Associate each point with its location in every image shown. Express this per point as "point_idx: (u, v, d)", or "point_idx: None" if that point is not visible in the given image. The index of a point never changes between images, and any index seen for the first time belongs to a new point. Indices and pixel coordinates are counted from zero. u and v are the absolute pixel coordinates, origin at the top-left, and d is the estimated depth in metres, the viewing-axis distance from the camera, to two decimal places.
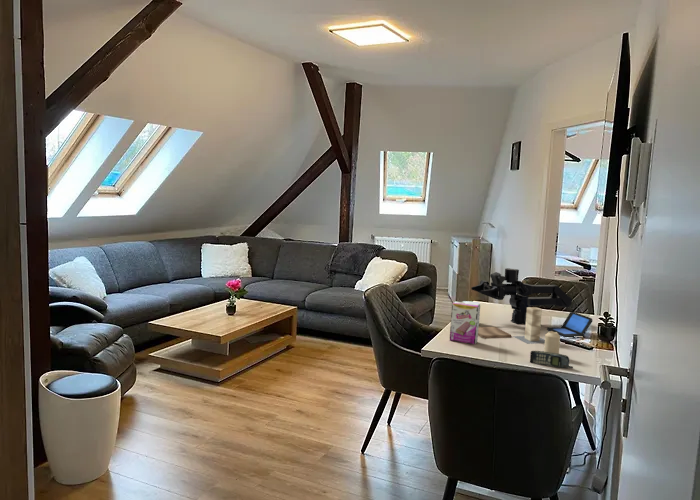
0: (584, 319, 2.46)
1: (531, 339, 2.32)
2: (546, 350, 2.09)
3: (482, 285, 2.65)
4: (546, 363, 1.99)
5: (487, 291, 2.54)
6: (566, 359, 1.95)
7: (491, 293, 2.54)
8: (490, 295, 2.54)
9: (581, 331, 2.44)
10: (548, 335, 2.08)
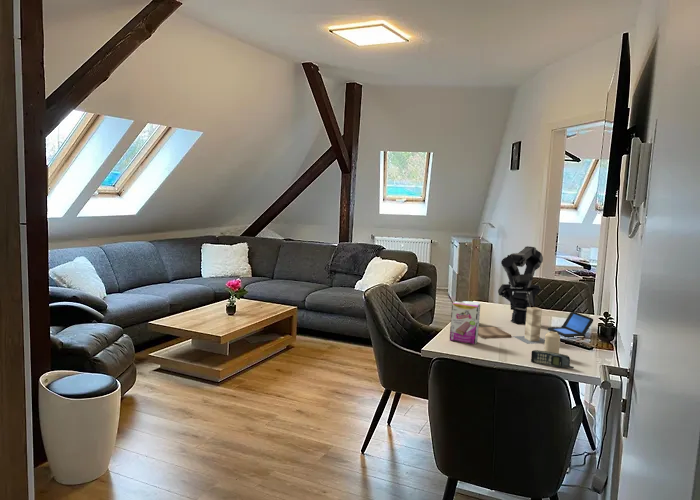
0: (585, 319, 2.46)
1: (531, 339, 2.32)
2: (546, 350, 2.09)
3: None
4: (547, 363, 1.99)
5: None
6: (567, 359, 1.95)
7: None
8: None
9: (582, 331, 2.44)
10: (548, 335, 2.08)
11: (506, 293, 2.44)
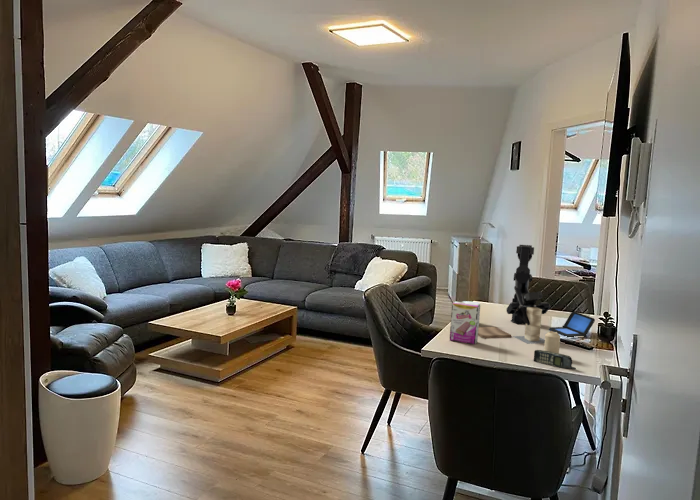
0: (586, 319, 2.47)
1: (531, 339, 2.32)
2: (546, 350, 2.09)
3: None
4: (549, 363, 1.99)
5: None
6: (568, 360, 1.95)
7: None
8: None
9: (583, 331, 2.44)
10: (548, 335, 2.08)
11: (519, 312, 2.36)
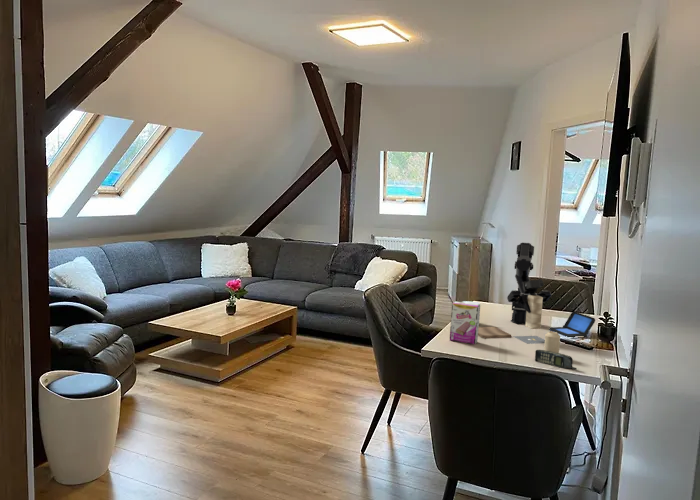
0: (587, 319, 2.47)
1: (532, 327, 2.31)
2: (546, 350, 2.09)
3: None
4: (550, 362, 2.00)
5: None
6: (568, 360, 1.95)
7: None
8: None
9: (584, 331, 2.44)
10: (548, 335, 2.08)
11: (520, 300, 2.35)
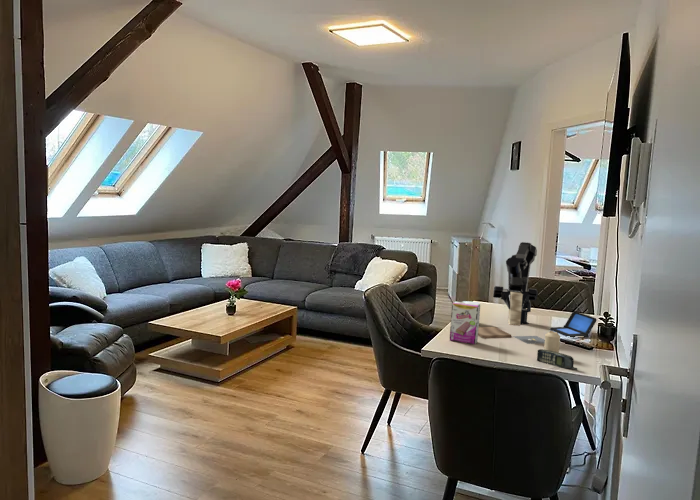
0: (588, 319, 2.47)
1: (510, 323, 2.34)
2: None
3: (508, 295, 2.37)
4: (551, 362, 2.00)
5: (523, 303, 2.35)
6: (569, 360, 1.95)
7: None
8: (523, 303, 2.37)
9: (585, 331, 2.44)
10: (548, 335, 2.08)
11: (504, 296, 2.39)
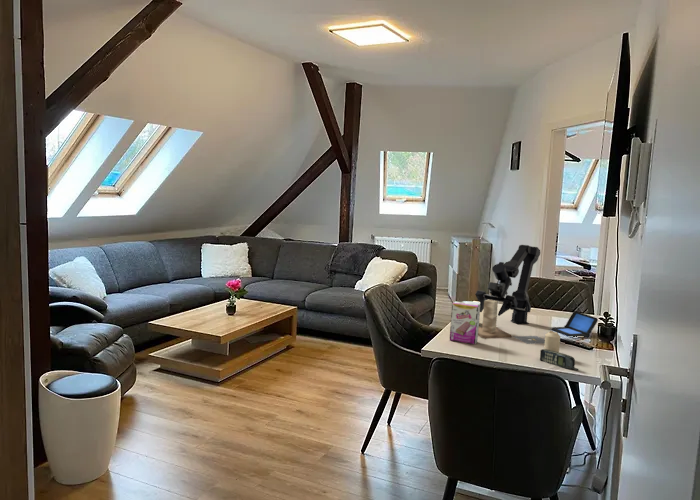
0: (589, 319, 2.47)
1: (483, 329, 2.41)
2: None
3: (483, 299, 2.45)
4: (553, 362, 2.00)
5: (502, 309, 2.37)
6: (570, 360, 1.94)
7: (505, 307, 2.39)
8: (506, 309, 2.39)
9: (586, 331, 2.45)
10: (548, 335, 2.08)
11: None
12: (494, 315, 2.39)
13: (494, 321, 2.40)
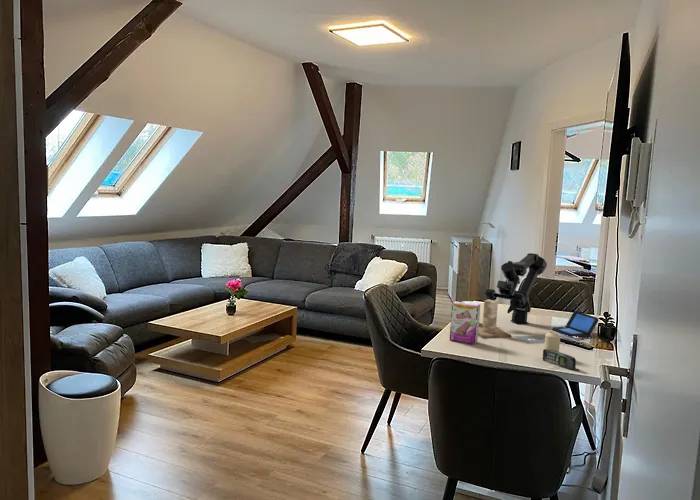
0: (589, 319, 2.48)
1: (483, 329, 2.41)
2: None
3: (492, 297, 2.52)
4: (555, 362, 2.00)
5: (511, 307, 2.44)
6: (571, 360, 1.94)
7: (514, 305, 2.46)
8: (514, 307, 2.46)
9: (587, 331, 2.45)
10: (548, 335, 2.08)
11: None
12: (494, 315, 2.39)
13: (494, 321, 2.40)
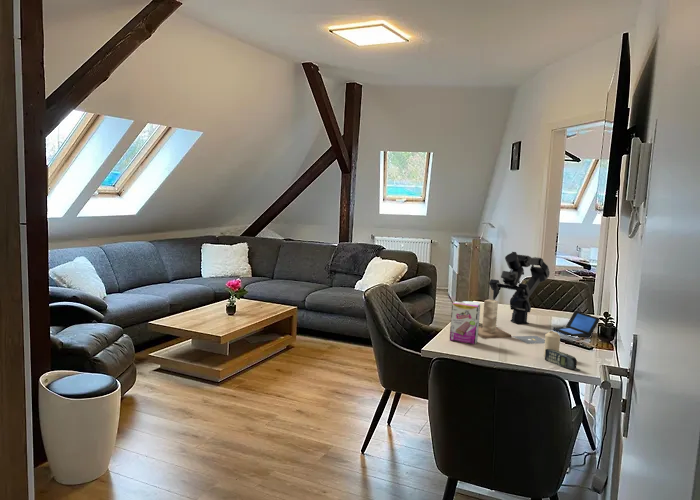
0: (590, 318, 2.48)
1: (483, 329, 2.41)
2: None
3: (496, 287, 2.55)
4: (556, 362, 2.00)
5: (516, 297, 2.47)
6: (571, 360, 1.94)
7: (518, 295, 2.49)
8: (519, 297, 2.49)
9: (588, 331, 2.45)
10: (548, 335, 2.08)
11: None
12: (494, 315, 2.39)
13: (494, 321, 2.40)
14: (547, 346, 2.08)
